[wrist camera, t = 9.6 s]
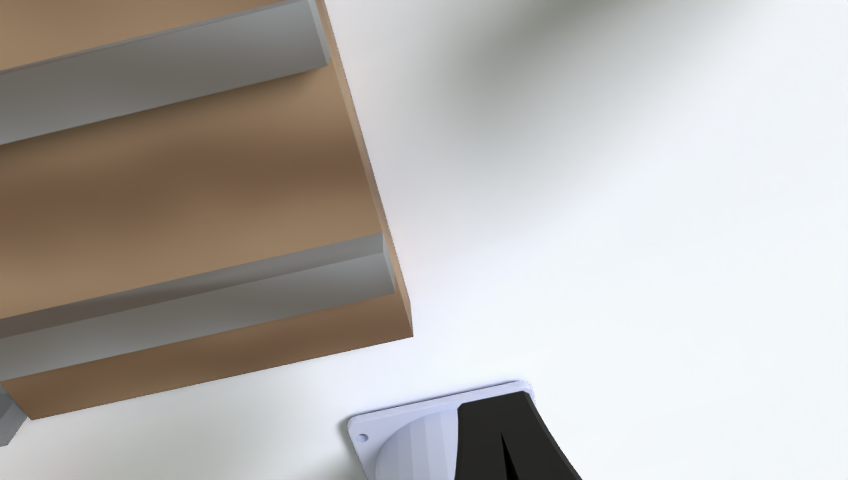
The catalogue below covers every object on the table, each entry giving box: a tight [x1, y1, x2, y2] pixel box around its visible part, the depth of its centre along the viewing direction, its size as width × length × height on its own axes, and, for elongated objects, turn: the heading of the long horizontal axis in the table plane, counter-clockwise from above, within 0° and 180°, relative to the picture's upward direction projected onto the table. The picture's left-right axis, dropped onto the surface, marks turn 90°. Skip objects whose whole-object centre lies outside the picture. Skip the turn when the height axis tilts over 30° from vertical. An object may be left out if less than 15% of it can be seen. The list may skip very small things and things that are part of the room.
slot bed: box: [0, 0, 413, 420], centre depth 16 cm, size 14×14×3 cm
